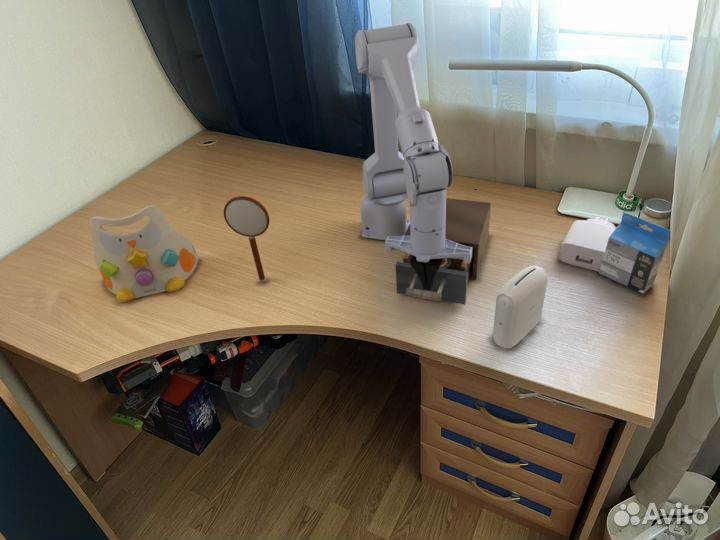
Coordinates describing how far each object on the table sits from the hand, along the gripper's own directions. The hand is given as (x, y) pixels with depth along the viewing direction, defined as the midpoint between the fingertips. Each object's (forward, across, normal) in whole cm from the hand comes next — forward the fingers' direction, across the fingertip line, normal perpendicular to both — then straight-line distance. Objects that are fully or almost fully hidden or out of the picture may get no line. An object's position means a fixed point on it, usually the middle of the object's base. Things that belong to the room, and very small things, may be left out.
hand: (428, 286), depth 96 cm
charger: (+6, +28, +26) cm, 38 cm away
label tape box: (+6, +34, +17) cm, 38 cm away
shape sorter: (+6, -57, -7) cm, 58 cm away
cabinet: (+5, 0, +17) cm, 18 cm away
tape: (+3, 0, +7) cm, 7 cm away
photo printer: (+6, +16, -2) cm, 17 cm away
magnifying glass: (+6, -34, -1) cm, 34 cm away
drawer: (+5, 0, +6) cm, 7 cm away
